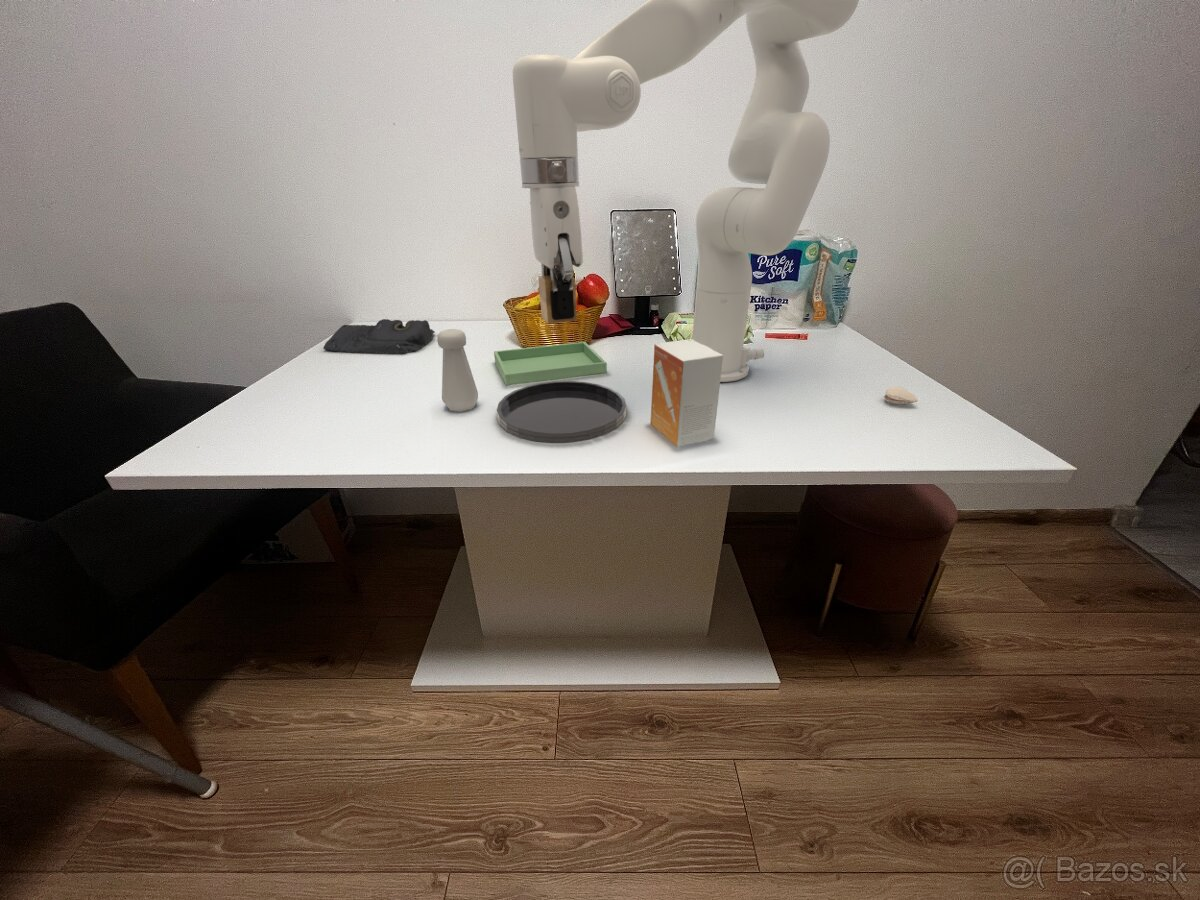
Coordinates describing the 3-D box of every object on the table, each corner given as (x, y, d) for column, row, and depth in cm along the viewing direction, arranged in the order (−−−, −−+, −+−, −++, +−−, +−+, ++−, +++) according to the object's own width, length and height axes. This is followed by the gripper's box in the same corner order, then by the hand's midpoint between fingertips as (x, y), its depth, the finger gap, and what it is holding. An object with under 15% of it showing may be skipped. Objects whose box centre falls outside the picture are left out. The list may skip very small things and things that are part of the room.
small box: (649, 426, 78) (653, 343, 71) (685, 419, 80) (692, 337, 74) (676, 450, 71) (683, 360, 65) (714, 441, 73) (725, 354, 67)
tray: (585, 353, 109) (584, 341, 108) (606, 375, 97) (606, 362, 96) (495, 363, 104) (493, 351, 103) (506, 387, 92) (504, 374, 91)
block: (569, 314, 78) (567, 273, 75) (577, 320, 75) (575, 278, 72) (541, 317, 77) (538, 276, 74) (548, 324, 74) (544, 281, 71)
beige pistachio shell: (888, 396, 87) (892, 382, 86) (920, 404, 84) (924, 390, 83) (878, 403, 85) (882, 389, 83) (911, 412, 82) (916, 397, 80)
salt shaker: (470, 417, 81) (459, 337, 75) (437, 414, 82) (423, 335, 76) (485, 403, 86) (475, 326, 80) (453, 400, 87) (442, 325, 81)
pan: (602, 385, 93) (602, 375, 92) (645, 433, 76) (645, 421, 75) (490, 400, 87) (489, 389, 86) (510, 455, 70) (508, 442, 69)
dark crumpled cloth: (354, 332, 124) (349, 313, 122) (441, 334, 122) (438, 314, 120) (317, 352, 111) (311, 330, 109) (414, 354, 109) (409, 332, 107)
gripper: (597, 174, 61) (601, 326, 70) (560, 173, 75) (567, 300, 84) (536, 176, 59) (547, 332, 68) (510, 175, 73) (522, 304, 82)
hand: (558, 313), depth 76 cm, fingers closed on block, 4 cm apart
